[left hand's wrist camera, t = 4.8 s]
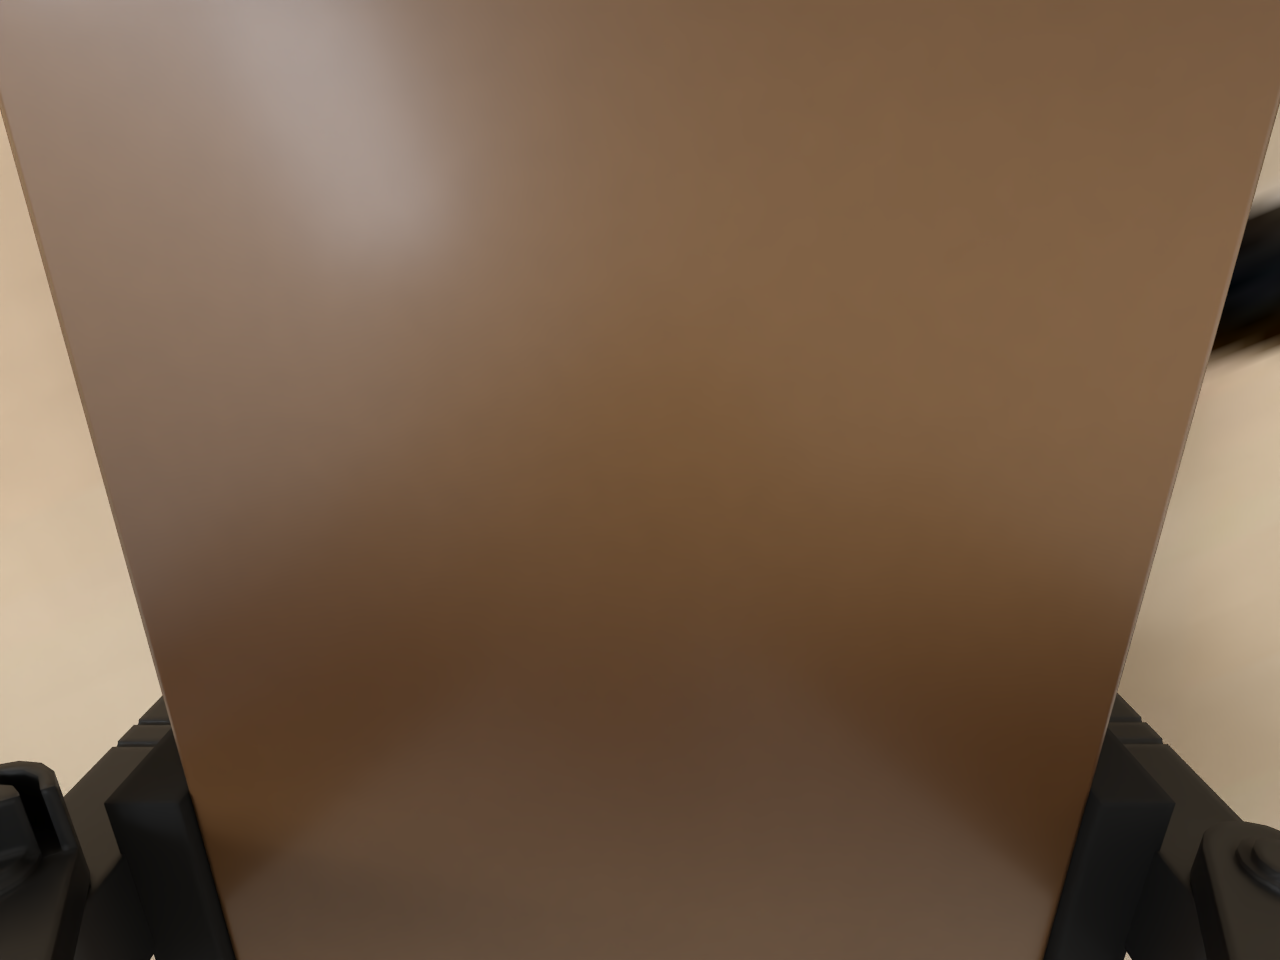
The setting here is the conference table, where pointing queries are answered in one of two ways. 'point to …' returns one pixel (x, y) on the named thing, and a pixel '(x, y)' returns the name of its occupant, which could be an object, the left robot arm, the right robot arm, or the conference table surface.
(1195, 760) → the conference table surface
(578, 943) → the brown wooden beam
